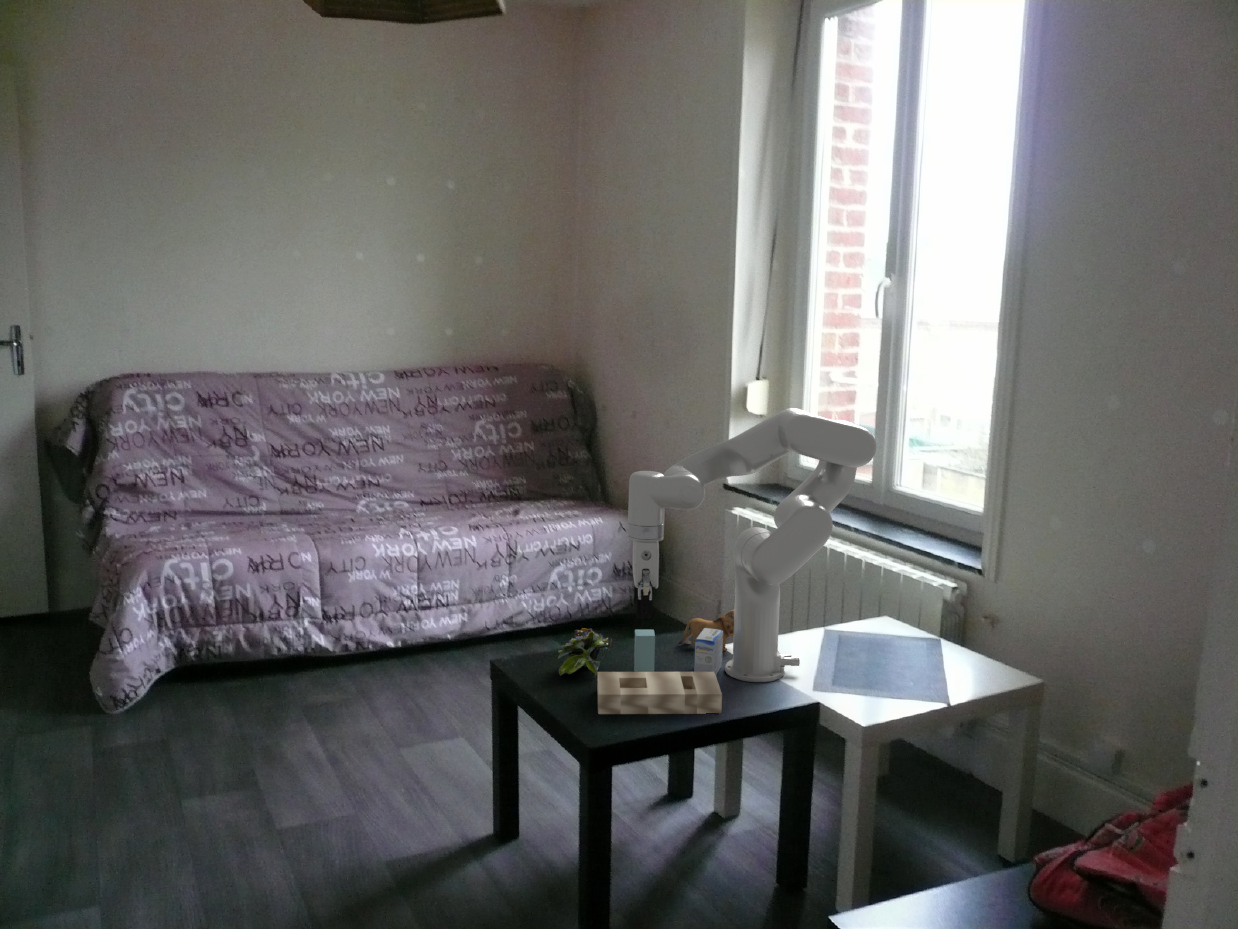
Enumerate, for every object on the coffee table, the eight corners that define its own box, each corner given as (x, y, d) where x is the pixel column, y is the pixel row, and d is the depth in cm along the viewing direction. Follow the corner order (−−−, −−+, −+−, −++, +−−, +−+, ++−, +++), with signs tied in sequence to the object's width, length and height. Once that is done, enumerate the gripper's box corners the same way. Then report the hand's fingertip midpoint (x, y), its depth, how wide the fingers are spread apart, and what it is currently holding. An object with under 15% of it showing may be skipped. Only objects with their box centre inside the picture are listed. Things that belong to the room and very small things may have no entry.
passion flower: (582, 690, 234) (606, 640, 238) (606, 698, 225) (630, 646, 228) (541, 668, 230) (566, 617, 233) (564, 675, 220) (589, 622, 223)
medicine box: (702, 665, 235) (703, 627, 234) (722, 667, 234) (723, 629, 232) (693, 677, 228) (694, 638, 226) (714, 680, 226) (715, 641, 225)
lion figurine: (740, 644, 249) (741, 606, 247) (742, 651, 244) (743, 613, 242) (677, 642, 249) (678, 605, 248) (678, 650, 244) (678, 612, 242)
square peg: (652, 674, 229) (653, 629, 228) (654, 681, 225) (654, 635, 224) (634, 674, 229) (634, 629, 227) (635, 681, 225) (635, 635, 223)
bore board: (713, 690, 221) (714, 671, 220) (721, 713, 209) (721, 694, 208) (597, 690, 220) (597, 671, 219) (598, 714, 208) (598, 694, 207)
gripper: (667, 541, 213) (663, 624, 216) (660, 522, 230) (657, 598, 233) (629, 540, 213) (626, 623, 216) (625, 521, 230) (623, 598, 233)
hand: (642, 610), depth 225 cm, fingers open, 9 cm apart
